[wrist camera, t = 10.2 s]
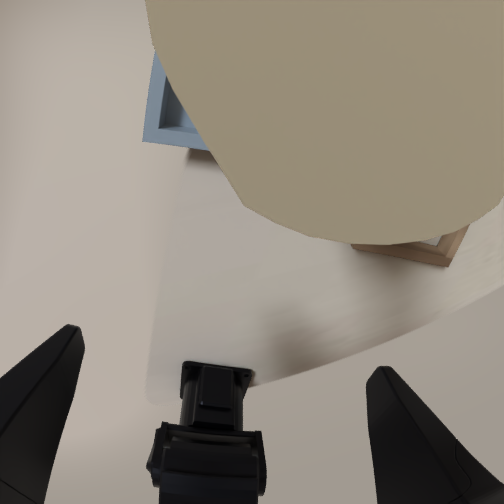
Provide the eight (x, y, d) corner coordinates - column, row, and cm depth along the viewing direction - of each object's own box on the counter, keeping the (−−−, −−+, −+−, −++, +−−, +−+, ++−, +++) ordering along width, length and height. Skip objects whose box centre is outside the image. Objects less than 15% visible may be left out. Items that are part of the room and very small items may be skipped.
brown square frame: (439, 256, 23) (448, 267, 21) (346, 236, 21) (352, 248, 20) (486, 146, 18) (498, 152, 16) (392, 101, 16) (403, 105, 15)
